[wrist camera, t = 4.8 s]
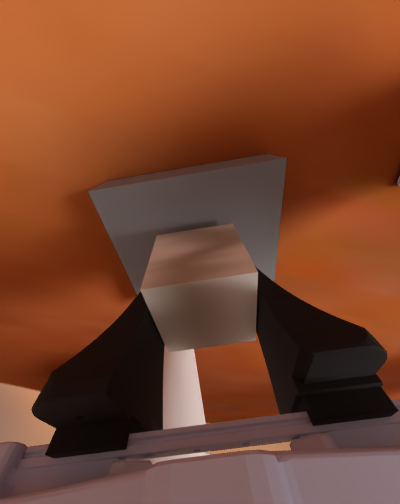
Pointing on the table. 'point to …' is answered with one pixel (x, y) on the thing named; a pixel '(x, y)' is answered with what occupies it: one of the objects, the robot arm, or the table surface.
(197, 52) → the table surface
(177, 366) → the foam cup
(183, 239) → the cream cube
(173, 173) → the charcoal plinth
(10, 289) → the table surface
